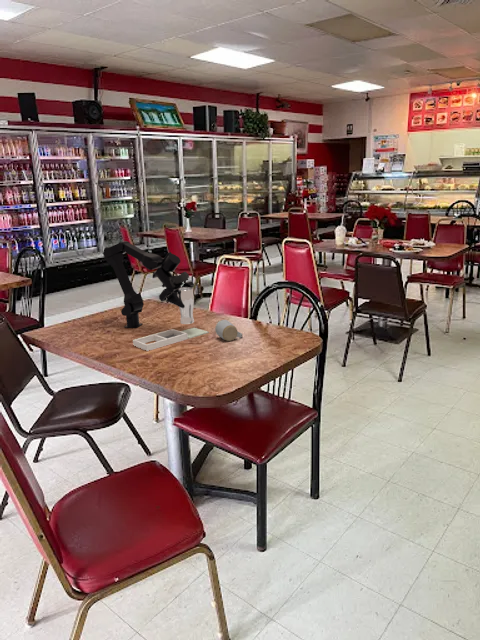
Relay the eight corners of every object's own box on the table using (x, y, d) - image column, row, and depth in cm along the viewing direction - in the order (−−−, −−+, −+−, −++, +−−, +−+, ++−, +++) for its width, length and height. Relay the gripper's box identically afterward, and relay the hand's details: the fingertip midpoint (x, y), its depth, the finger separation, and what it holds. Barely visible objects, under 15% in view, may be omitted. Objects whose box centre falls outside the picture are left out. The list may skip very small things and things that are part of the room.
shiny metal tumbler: (191, 319, 216) (189, 286, 212) (197, 322, 210) (195, 289, 206) (177, 321, 213) (174, 288, 208) (182, 325, 207) (180, 291, 203)
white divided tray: (147, 351, 193) (146, 345, 193) (133, 345, 201) (132, 340, 200) (208, 332, 214) (208, 327, 214) (194, 328, 222) (193, 323, 221)
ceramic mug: (223, 343, 199) (222, 325, 197) (215, 338, 206) (214, 320, 204) (246, 339, 204) (245, 321, 202) (237, 334, 211) (237, 317, 209)
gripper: (162, 270, 199) (185, 298, 196) (189, 263, 214) (211, 289, 212) (149, 287, 205) (171, 315, 203) (176, 279, 220) (197, 305, 218)
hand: (188, 305), depth 208 cm, fingers closed on shiny metal tumbler, 6 cm apart
